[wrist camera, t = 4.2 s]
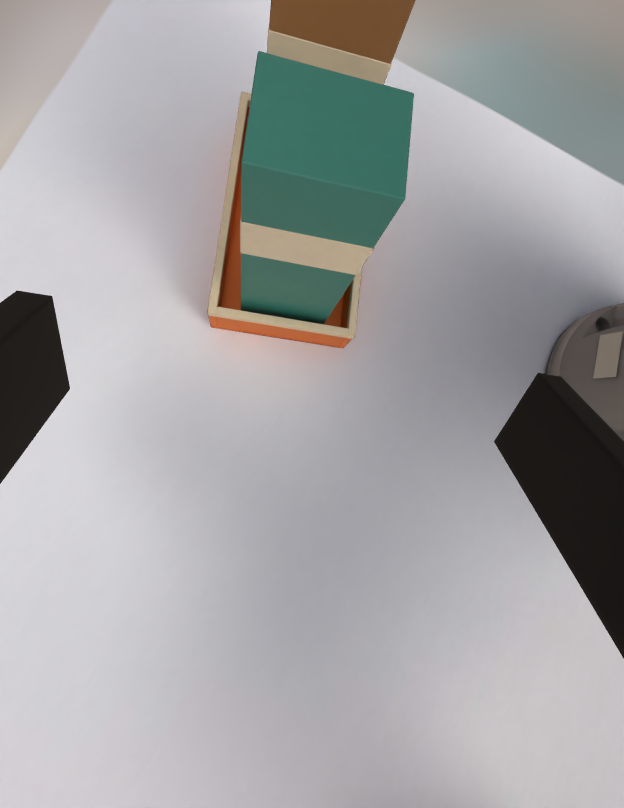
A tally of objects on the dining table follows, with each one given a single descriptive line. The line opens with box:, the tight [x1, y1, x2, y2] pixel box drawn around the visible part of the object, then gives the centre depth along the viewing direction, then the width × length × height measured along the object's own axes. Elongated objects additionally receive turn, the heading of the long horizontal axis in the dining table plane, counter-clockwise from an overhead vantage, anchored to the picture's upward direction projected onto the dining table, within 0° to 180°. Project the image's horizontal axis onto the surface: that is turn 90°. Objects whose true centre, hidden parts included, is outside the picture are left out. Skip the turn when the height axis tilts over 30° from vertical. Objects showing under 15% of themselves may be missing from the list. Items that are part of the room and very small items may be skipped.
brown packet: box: [267, 0, 415, 85], centre depth 24 cm, size 6×5×16 cm
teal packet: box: [240, 51, 414, 324], centre depth 22 cm, size 6×5×16 cm
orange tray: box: [207, 92, 362, 348], centre depth 30 cm, size 10×16×3 cm, turn 173°
